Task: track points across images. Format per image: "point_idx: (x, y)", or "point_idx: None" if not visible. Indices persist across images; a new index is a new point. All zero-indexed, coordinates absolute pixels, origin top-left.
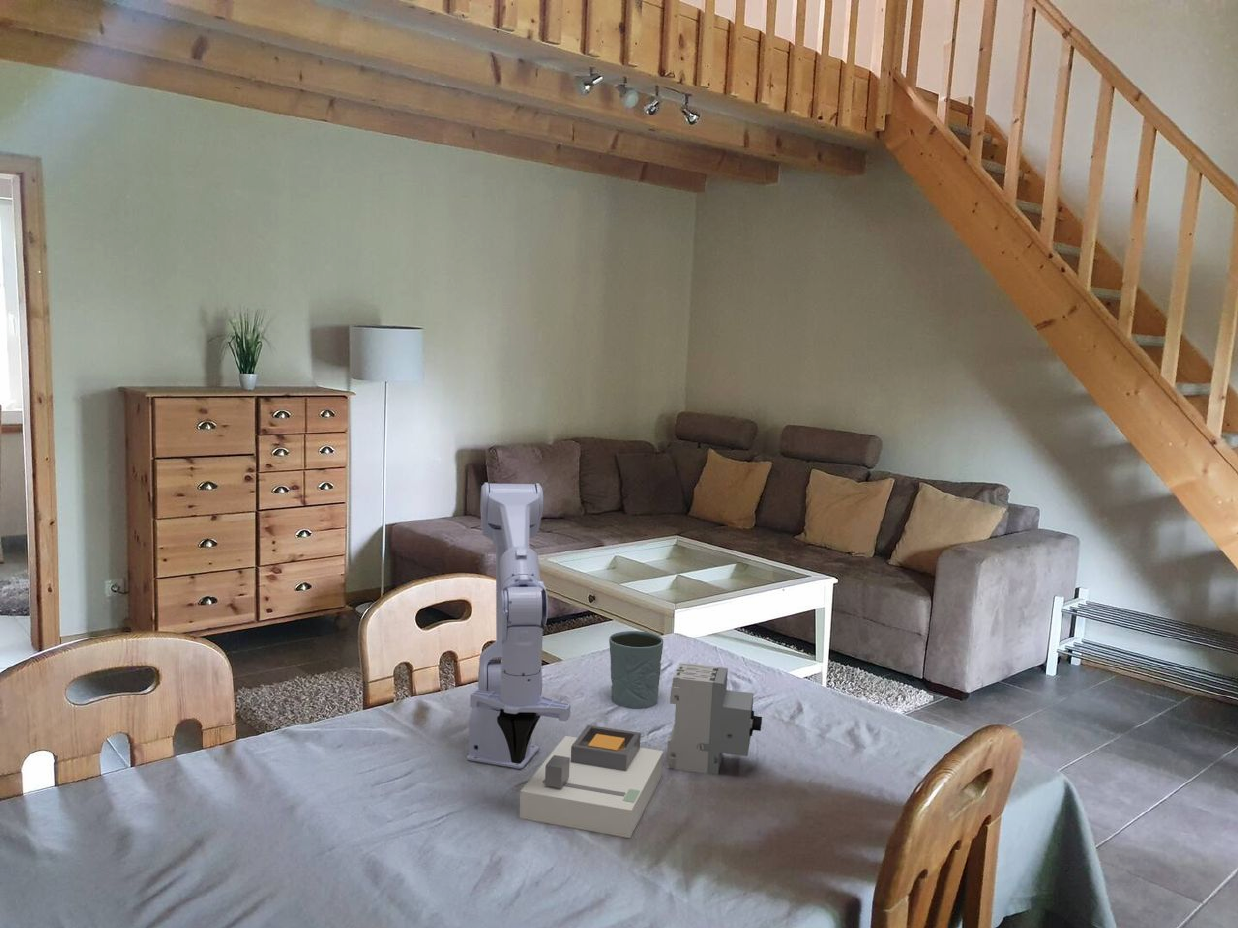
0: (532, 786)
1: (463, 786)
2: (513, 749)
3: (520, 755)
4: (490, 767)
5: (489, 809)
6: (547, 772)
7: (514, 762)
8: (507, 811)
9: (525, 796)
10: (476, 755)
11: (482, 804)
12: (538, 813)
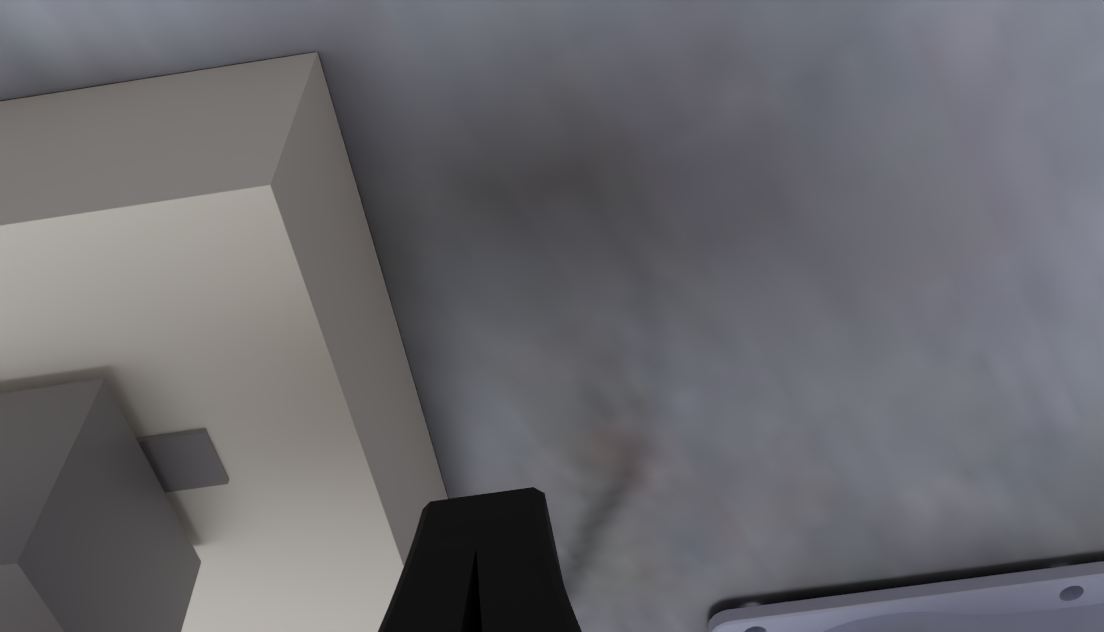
0: (230, 322)
1: (1030, 272)
2: (492, 629)
3: (399, 587)
4: (926, 551)
5: (652, 54)
6: (20, 492)
7: (494, 494)
8: (485, 101)
9: (218, 165)
10: (1073, 609)
11: (753, 100)
12: (113, 114)
